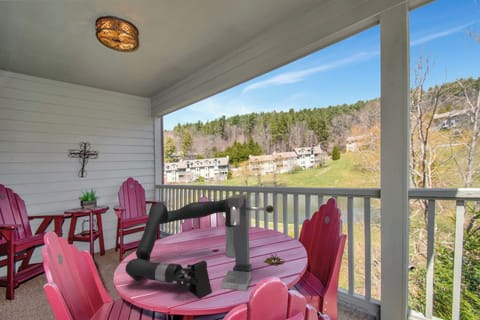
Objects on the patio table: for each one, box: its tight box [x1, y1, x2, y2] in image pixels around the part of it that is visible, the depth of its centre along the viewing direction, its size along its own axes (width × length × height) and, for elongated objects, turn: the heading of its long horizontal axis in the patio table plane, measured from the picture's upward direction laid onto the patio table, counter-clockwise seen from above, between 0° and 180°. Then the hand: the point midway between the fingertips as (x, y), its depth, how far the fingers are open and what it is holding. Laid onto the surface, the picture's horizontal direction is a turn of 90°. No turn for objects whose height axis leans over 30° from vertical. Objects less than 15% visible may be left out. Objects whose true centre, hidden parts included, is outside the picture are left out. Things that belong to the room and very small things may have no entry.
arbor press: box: [220, 194, 275, 292], centre depth 102 cm, size 20×22×38 cm
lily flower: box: [263, 253, 284, 267], centre depth 120 cm, size 12×12×5 cm
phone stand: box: [187, 259, 213, 299], centre depth 92 cm, size 9×6×12 cm, turn 45°
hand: (203, 276), depth 92 cm, fingers open, 8 cm apart
